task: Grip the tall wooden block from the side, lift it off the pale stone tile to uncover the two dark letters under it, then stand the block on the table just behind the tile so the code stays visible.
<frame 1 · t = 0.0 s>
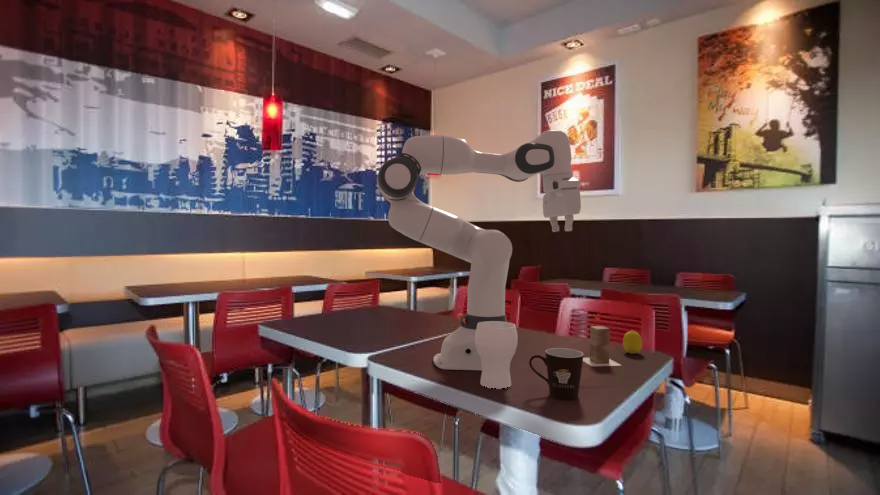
hand: (562, 231, 133), 39 cm above the table, tool pointing down, fingers open, 8 cm apart
coffee mug: (557, 394, 104), on the table
cup: (495, 385, 111), on the table
lemon: (632, 355, 140), on the table
tall wooden block: (599, 361, 130), point 1 cm above the table, touching code tile
code tile: (599, 363, 130), on the table
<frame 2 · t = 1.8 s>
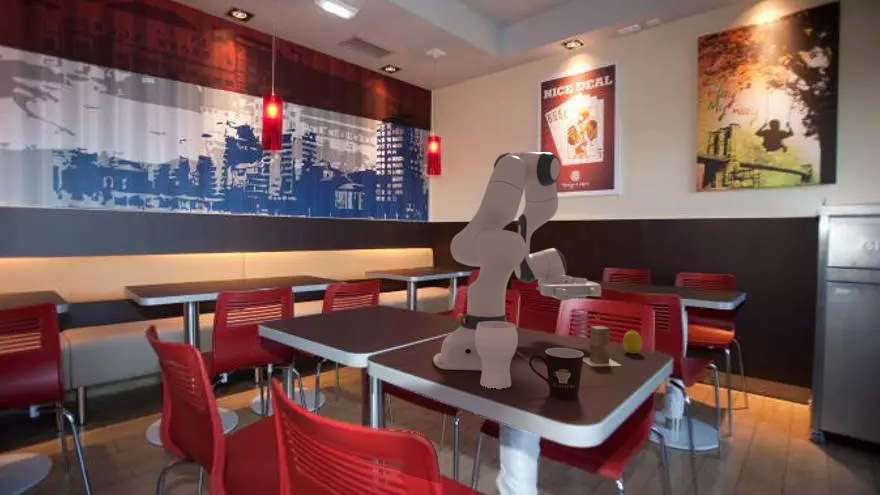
hand: (579, 292, 143), 19 cm above the table, tool horizontal, fingers open, 8 cm apart
nothing on the table moved.
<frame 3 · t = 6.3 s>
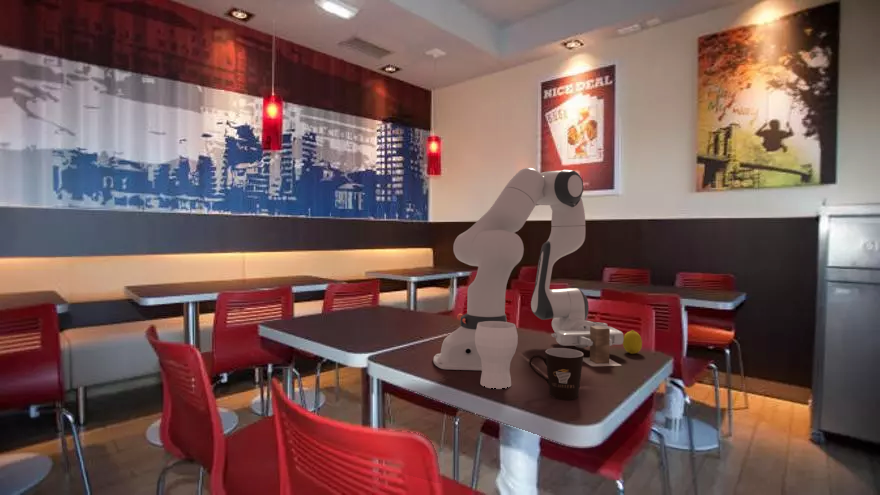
hand: (601, 343, 129), 6 cm above the table, tool horizontal, fingers closed on tall wooden block, 4 cm apart
tall wooden block: (599, 361, 130), point 1 cm above the table, touching code tile, gripper
everything else where it was.
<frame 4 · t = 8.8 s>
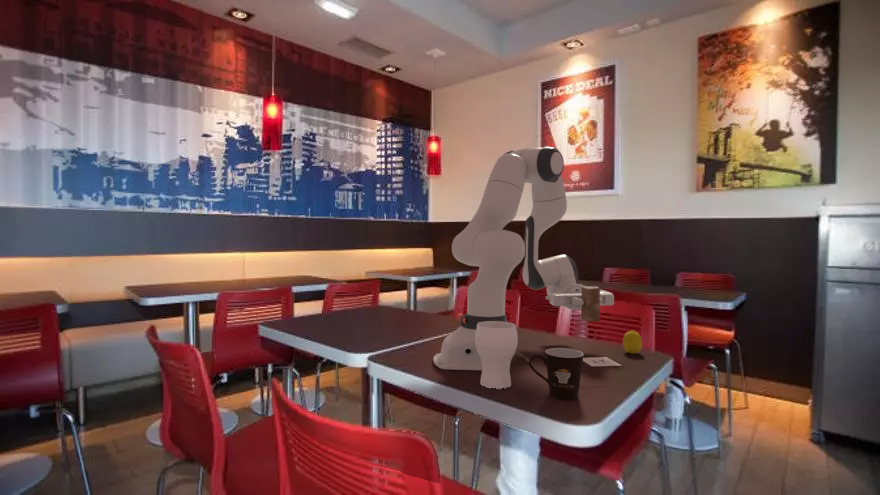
hand: (591, 302, 135), 17 cm above the table, tool horizontal, fingers closed on tall wooden block, 4 cm apart
tall wooden block: (590, 320, 136), point 12 cm above the table, touching gripper
everything else where it was.
when the fingers open (7 cm above the table, at t = 11.5 s): tall wooden block drops 2 cm, on the table.
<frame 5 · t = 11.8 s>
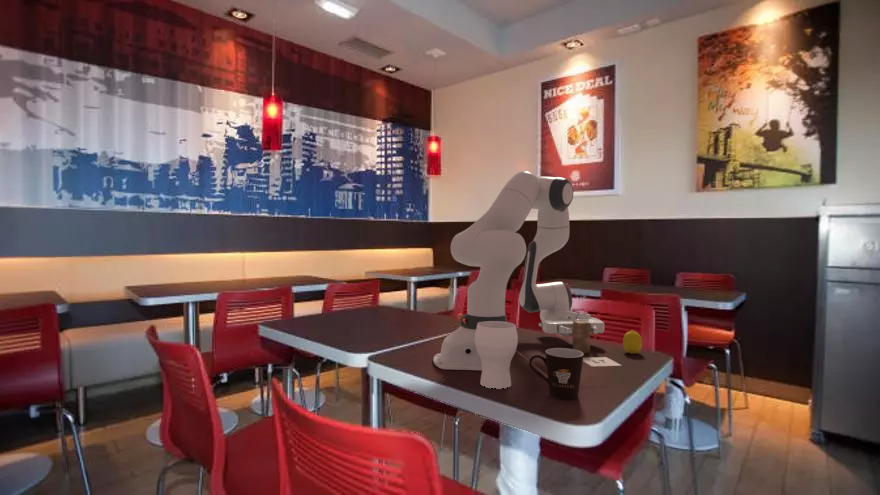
hand: (582, 331, 141), 7 cm above the table, tool horizontal, fingers open, 7 cm apart
tall wooden block: (581, 353, 142), on the table
everything else where it was.
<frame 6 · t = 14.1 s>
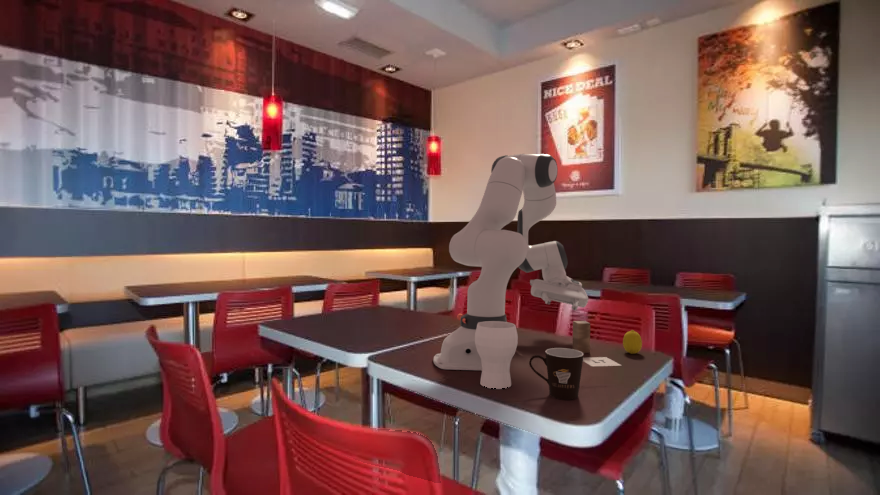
hand: (561, 305, 153), 14 cm above the table, tool tilted 65°, fingers open, 8 cm apart
nothing on the table moved.
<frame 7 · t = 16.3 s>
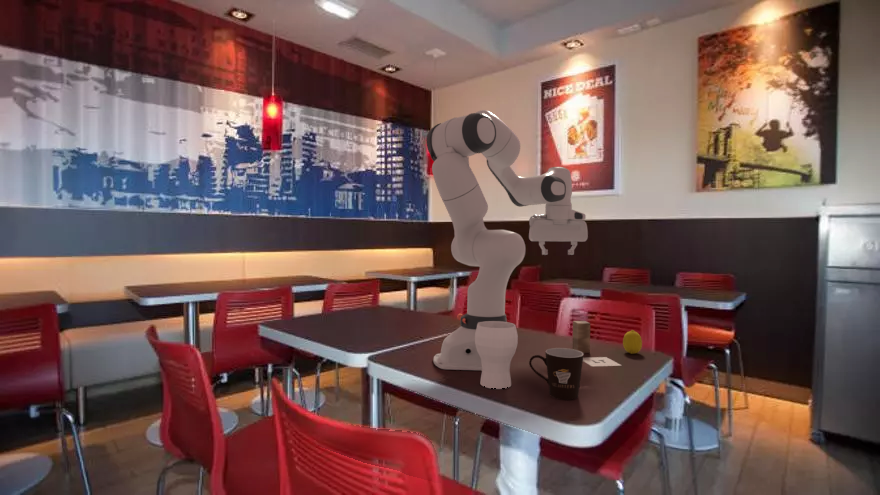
hand: (557, 254, 154), 31 cm above the table, tool pointing down, fingers open, 8 cm apart
nothing on the table moved.
at the end: tall wooden block inside the target area (0.1 cm from its centre), on the table; tall wooden block tilted 0°; tall wooden block touching table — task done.
